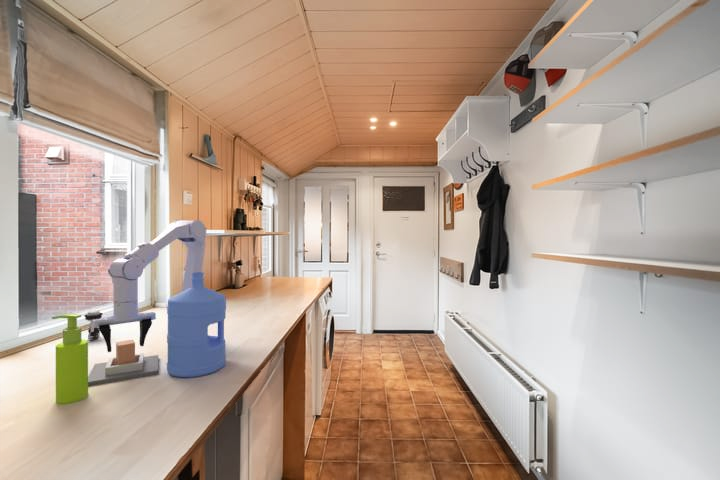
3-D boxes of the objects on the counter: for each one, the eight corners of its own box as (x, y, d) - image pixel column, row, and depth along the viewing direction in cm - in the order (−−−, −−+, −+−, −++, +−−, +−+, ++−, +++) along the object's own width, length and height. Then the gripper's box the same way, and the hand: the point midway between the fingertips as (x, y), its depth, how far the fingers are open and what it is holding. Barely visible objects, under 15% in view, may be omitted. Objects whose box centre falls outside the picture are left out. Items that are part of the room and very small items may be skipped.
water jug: (164, 382, 90) (164, 277, 90) (169, 362, 104) (169, 271, 104) (227, 373, 97) (228, 275, 96) (223, 355, 111) (224, 269, 110)
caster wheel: (98, 340, 123) (98, 313, 123) (80, 342, 121) (80, 314, 121) (104, 335, 130) (104, 309, 129) (87, 337, 127) (87, 310, 127)
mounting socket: (158, 358, 107) (158, 348, 107) (157, 374, 95) (157, 363, 95) (94, 367, 99) (94, 357, 99) (85, 386, 87) (85, 374, 87)
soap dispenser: (64, 392, 84) (64, 311, 83) (93, 391, 84) (93, 311, 84) (44, 404, 78) (43, 317, 78) (76, 403, 78) (76, 317, 78)
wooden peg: (132, 363, 100) (132, 339, 100) (134, 367, 97) (134, 342, 97) (116, 366, 98) (116, 342, 98) (117, 370, 95) (117, 345, 95)
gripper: (152, 295, 105) (152, 339, 105) (92, 301, 95) (92, 350, 96) (157, 299, 100) (157, 345, 100) (94, 306, 90) (94, 357, 90)
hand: (125, 348), depth 97 cm, fingers open, 7 cm apart
